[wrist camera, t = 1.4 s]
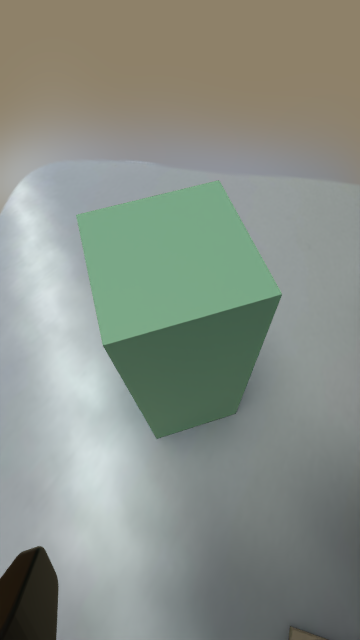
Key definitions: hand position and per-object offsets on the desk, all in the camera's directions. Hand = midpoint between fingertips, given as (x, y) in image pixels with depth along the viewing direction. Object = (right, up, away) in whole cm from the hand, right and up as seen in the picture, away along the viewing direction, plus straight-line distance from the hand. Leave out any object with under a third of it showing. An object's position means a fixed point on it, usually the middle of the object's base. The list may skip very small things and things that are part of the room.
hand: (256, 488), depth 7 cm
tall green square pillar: (-1, -1, +14) cm, 14 cm away
